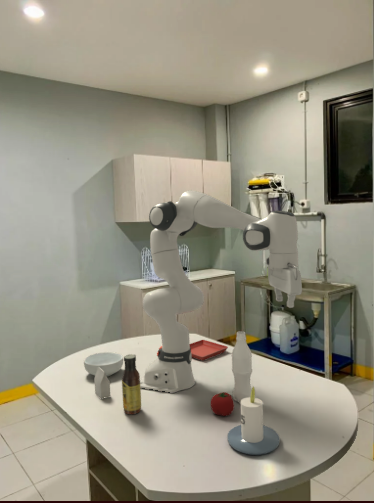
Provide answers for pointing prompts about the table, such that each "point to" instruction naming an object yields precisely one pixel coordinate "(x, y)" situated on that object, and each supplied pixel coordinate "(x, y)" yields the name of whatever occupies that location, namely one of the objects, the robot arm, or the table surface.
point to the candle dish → (259, 448)
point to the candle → (252, 418)
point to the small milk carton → (102, 384)
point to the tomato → (222, 404)
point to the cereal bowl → (103, 362)
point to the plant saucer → (206, 349)
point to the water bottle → (241, 368)
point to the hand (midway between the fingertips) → (284, 304)
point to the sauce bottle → (131, 386)
